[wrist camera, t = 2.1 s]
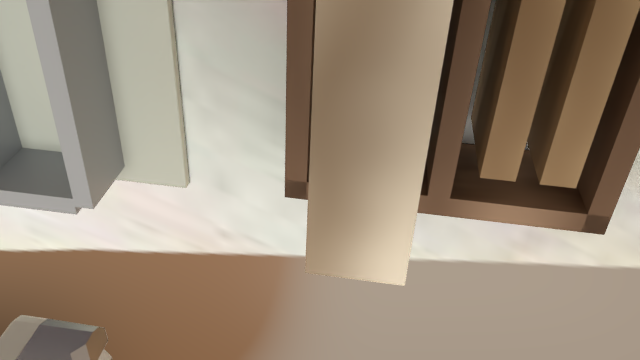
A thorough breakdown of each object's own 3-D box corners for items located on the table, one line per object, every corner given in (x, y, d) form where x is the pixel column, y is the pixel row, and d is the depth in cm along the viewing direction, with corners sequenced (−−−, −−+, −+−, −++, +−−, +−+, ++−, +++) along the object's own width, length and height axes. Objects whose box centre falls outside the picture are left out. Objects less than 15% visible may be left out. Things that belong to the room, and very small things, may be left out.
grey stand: (156, -151, 25) (110, -137, 21) (189, 182, 35) (161, 232, 31) (-153, -172, 26) (-248, -162, 23) (-38, 155, 36) (-91, 200, 32)
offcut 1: (561, -124, 24) (593, -99, 19) (501, 119, 30) (515, 181, 26) (522, -127, 24) (546, -102, 19) (470, 116, 30) (479, 177, 26)
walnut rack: (707, -191, 22) (773, -182, 18) (580, 172, 31) (604, 234, 27) (312, -214, 23) (289, -209, 19) (302, 142, 32) (284, 196, 28)
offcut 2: (626, -120, 24) (675, -93, 19) (552, 124, 30) (575, 188, 25) (587, -123, 24) (626, -97, 19) (521, 121, 30) (539, 184, 26)
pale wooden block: (448, -146, 24) (468, -85, 14) (409, 119, 31) (404, 285, 21) (360, -152, 24) (320, -95, 14) (341, 112, 31) (305, 273, 21)
